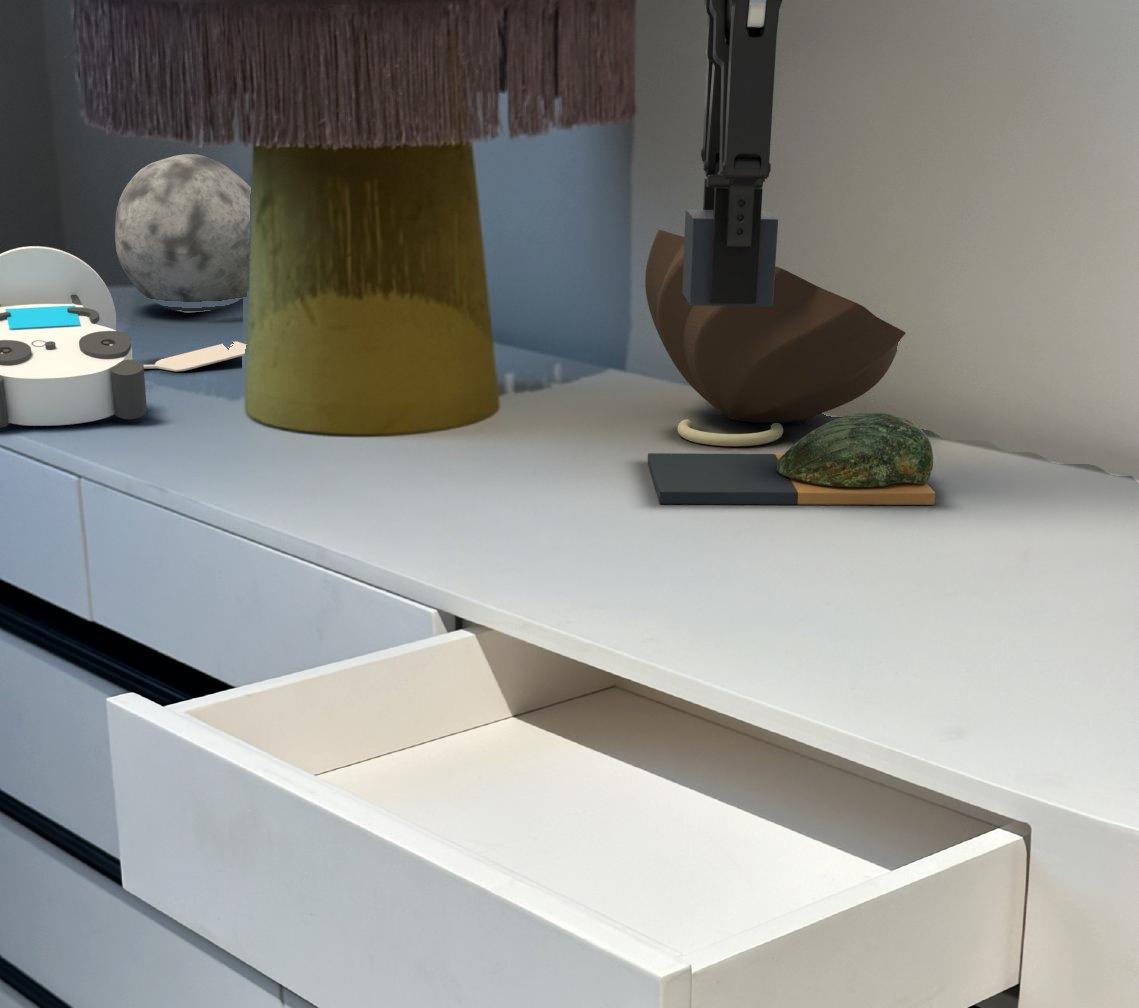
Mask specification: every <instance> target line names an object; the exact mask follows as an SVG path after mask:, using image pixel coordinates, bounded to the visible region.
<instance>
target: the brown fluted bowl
mask: <svg viewBox="0 0 1139 1008" xmlns="http://www.w3.org/2000/svg"><path fill="white" fill-rule="evenodd" d="M683 260H684V236H681V235H679V234H675V233H672V232H669V231H665V230H662V229H658V230H657V232H656V234H655V236H654V239H653V241H652V244H651V247H650V249H649V254H648V258H647V262H646V265H645V266H646V267H645V275H644V276H645V278H644V283H645V284H644V285H645V286H644V287H645V296H646V301H647V306H648V310H649V312H650V313H649V314H650V317H651V319H652V322H653V325H654V328H655V329H656V332H657V334H658V336H659V339H660V341H661V343H662V345H663V347H664V349H665V350H666V352H667V354H668V356H669V358H670V359H671V361H672V363H673V364H674V366H675V367H676V369H677V371H678V372H679V374H680V375H681V376H682V377H683V378H684V380H685V381H686V382H687V383H688V385H690V386H691V388H692V389H693V390H694V391H695V392H696V393H697V394H698V395H699V396H701V397H702V398H703V399H704V400H705V401H706V402H707V403H709V404H710V405H711V406H712V407H714V408H715V409H716V410H718V411H719V412H720V413H722V414H723V415H725V416H726V417H727V418H728V419H730V420H736V421H740V422H741V421H742V422H747V423H755V424H774V423H780V424H787V423H794V422H799V421H803V420H806V419H809V418H812V417H816V416H817V415H820V414H823V413H826V412H829V411H832V410H835V409H837V408H840V407H842V406H844V405H846V404H848V403H851V402H852V401H854V400H856V399H858V398H859V397H861V396H863V395H864V394H866V393H868V392H869V391H870V390H872V389H873V388H874V387H875V386H876V385H877V384H879V383H880V381H881V380H882V379H883V378H884V376H885V375H886V374H887V372H888V371H889V370H890V368H891V366H892V364H893V362H894V359H895V357H896V355H897V352H898V350H897V346H898V342H899V341H900V340H901V339H902V338H903V337H905V335H906V334H907V333H906V331H904V330H902V329H900V328H899V327H896V326H894V325H893V324H891V323H889V322H887V321H885V320H883V319H882V318H880V317H878V316H876V315H875V314H874V313H872V312H871V311H870V310H869V309H868V308H867V307H865V306H864V305H862V304H860V303H858V302H856V301H853V300H851V299H848V298H846V297H844V296H841V295H839V294H836V293H834V292H832V291H830V290H827V289H824V288H822V287H820V286H818V285H817V284H813V283H812V282H810V281H808V280H806V279H804V278H802V277H801V276H798V275H796V274H794V273H792V272H790V271H789V270H786V269H784V268H781V267H780V266H776V265H775V280H774V296H773V306H693V305H690V304H689V303H688V301H687V300H686V298H685V296H684V295H683V293H682V285H683ZM900 342H901V341H900Z"/></svg>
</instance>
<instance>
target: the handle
mask: <svg viewBox="0 0 1139 1008" xmlns="http://www.w3.org/2000/svg"><path fill="white" fill-rule="evenodd" d="M692 426H693V423H692V421H691V420H690V419H687V418H686V419H683V420H682V421H680V422H679V423H678V425H677V433H678V434H679V436H680V437H682V438H683V439H685V440H687V441H690V442H693V443H697V444H701V445H709V446H717V447H718V446H719V447H750V446H761V445H765V444H769V443H772V442H773V443H774V442H775V441H778V440H779V439H780V438H781V437H782V435H783V433H784V428H783V425H782V423H771V426H770V429H768V430H764V431H759V432H752V433H717V432H709V431H708V432H707V431H702V430H698V429H695V428H692Z"/></svg>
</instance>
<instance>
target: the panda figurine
mask: <svg viewBox="0 0 1139 1008" xmlns="http://www.w3.org/2000/svg"><path fill="white" fill-rule="evenodd" d="M144 365H145V364H144V363H143V362H141V361H139V360H137V359H134V358H133V346H132V340H131V337H130V335H129V334H128V332H127V333H126V332H124V331H121V330H117V312H116V308H115V303H114V300H113V296H112V294H111V292H110V290H109V288H108V286H107V285H106V283H105V281H104V280H103V279H102V277H101V276H100V275H99V273H98V272H97V271H96V270H95V269H93V268H92V266H90V265H89V264H88V263H86V262H85V261H84V260H83V259H81V258H79V257H77V256H75V255H74V254H71V253H69V252H67V251H64V250H61V249H59V248H58V249H57V248H54V247H49V246H41V245H40V246H39V245H37V246H35V245H34V246H33V245H32V246H22V247H16V248H13V249H9V250H7V251H4V252H2V253H0V429H1V428H6V427H7V426H9V425H10V424H13V425H19V426H30V427H32V426H33V427H36V426H37V427H38V426H40V427H41V426H43V427H44V426H46V427H49V426H65V425H75V424H76V425H77V424H83V423H89V422H90V423H91V422H95V421H99V420H103V419H106V418H109V417H111V416H114V415H115V417H117V418H120V419H124V420H134V419H138V418H141V417H143V416H145V415H146V413H147V411H148V405H147V393H146V392H147V391H146V381H145V380H146V379H145V368H144Z"/></svg>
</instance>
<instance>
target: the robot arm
mask: <svg viewBox="0 0 1139 1008" xmlns="http://www.w3.org/2000/svg"><path fill="white" fill-rule="evenodd" d="M703 3H704V9H705V12H706V13H707V18H706V19H707V20H706V32H705V33H706V36H705V54H706V69H705V71H706V72H705V91H704V112H703V113H704V114H703V115H704V116H703V138H702V148H700V158H701V161H702V164H703V171H704V173H705V177H706V178H704V180H703V203H702V204H703V205H702V210H714V212H713V235H712V256H711V277H710V298H709V302H710V303H720V304H756V293H757V276H758V259H759V242H760V225H761V210H762V209H763V208H762V205H763V191H764V190H763V189H764V188H763V186H764V183H765V182H766V180H768V178H769V177H770V173H771V170H772V169H771V168H772V165H771V164H772V163H771V162H770V156H771V139H772V123H773V122H772V121H773V105H774V87H775V69H776V54H777V37H778V28H779V26H778V25H779V18H780V10H781V7H782V4H783V0H704V2H703Z"/></svg>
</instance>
